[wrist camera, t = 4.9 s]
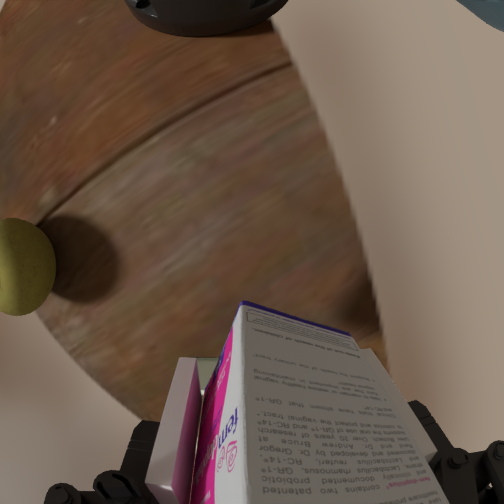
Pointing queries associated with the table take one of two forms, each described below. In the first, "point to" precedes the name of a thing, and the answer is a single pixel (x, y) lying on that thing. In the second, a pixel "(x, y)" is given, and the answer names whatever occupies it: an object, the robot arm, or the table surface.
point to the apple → (24, 267)
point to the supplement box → (302, 422)
